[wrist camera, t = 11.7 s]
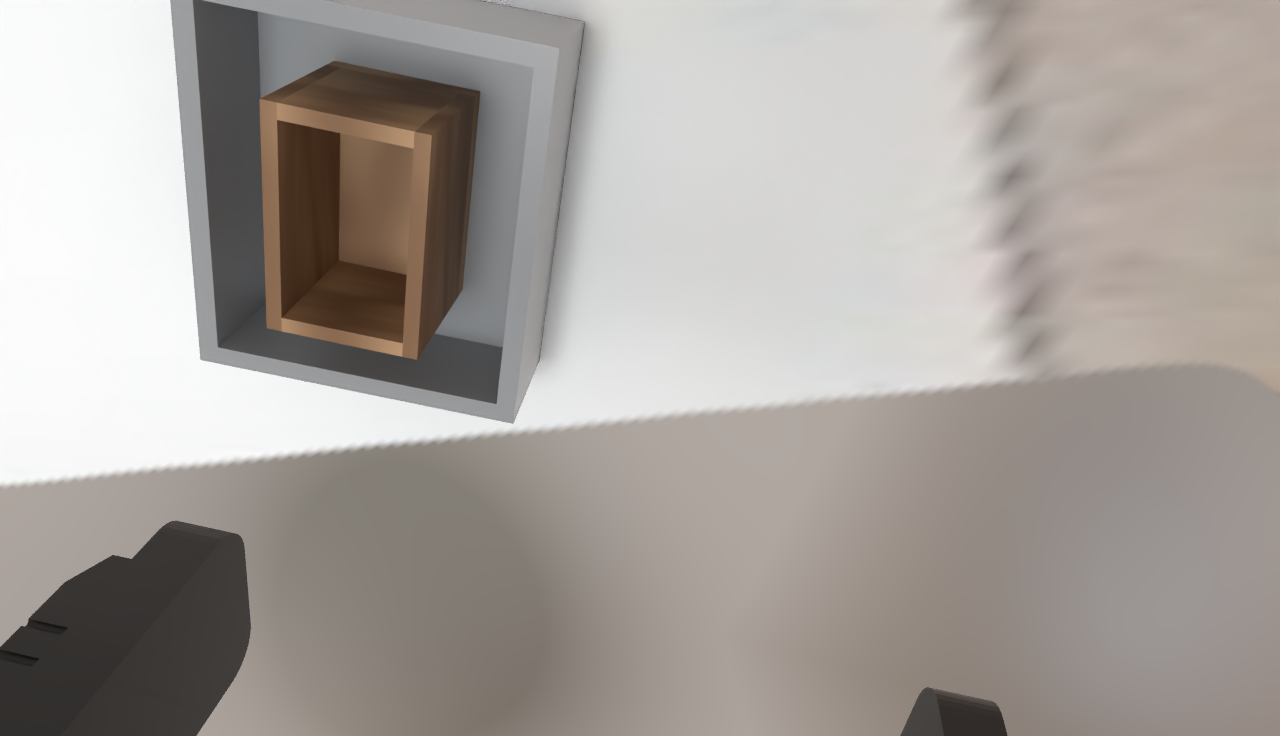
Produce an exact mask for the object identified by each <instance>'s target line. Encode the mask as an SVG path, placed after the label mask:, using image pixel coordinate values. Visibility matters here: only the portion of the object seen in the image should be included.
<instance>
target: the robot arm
mask: <svg viewBox="0 0 1280 736" xmlns="http://www.w3.org/2000/svg"><path fill="white" fill-rule="evenodd" d="M247 586H248V585H247V574H246V561H245V549H244V543H243V540H242V538H241V537H240V536H239V535H238V534H235V533H230V532H225V531H221V530H216V529H212V528H207V527H202V526H198V525H193V524H189V523H184V522H179V521H172V522H169V523H167V524H166V525H164V526H163V527H162V528H161V529H160V530H159V531H158V532H157V533H156V534H155V535H154V536H153V537H152V538H151V539H150V540H149V541H148V542H147V543H146V544H145V546H144V547H143V548H142V549H141V550H140V551H139V552H138V553H137V554H136V555H135V556H134V557H133V558H132V559H129V558H124V557H119V556H114V555H112V556H110V557H109V558H107V559H105V560H103V561H102V562H100V563H98V564H96V565H95V566H93V567H91V568H89V569H88V570H86V571H84V572H82V573H80V574H79V575H77V576H75V577H73V578H72V579H70V580H68V581H66V582H65V583H64V584H63V585H62V586H61V587H60V588H59V589H58V590H57V591H56V592H55V593H54V594H53V595H52V596H51V597H50V598H49V599H48V600H47V601H46V602H45V603H44V604H43V605H42V606H41V607H40V608H39V609H38V610H37V611H36V612H35V613H34V614H33V615H32V616H31V617H30V618H29V621H28V624H27V625H26V626H25V627H23V626H21V627H20V628H19V629H18V630H17V631H16V632H15V633H14V634H13V635H12V636H11V637H10V638H9V639H8V640H7V641H6V642H5V643H4V644H3V645H2V646H1V647H0V736H196V735H197V734H198V732H199V731H200V729H201V728H202V726H203V725H204V723H205V722H206V720H207V719H208V718H209V716H210V714H211V713H212V711H213V710H214V709H215V707H216V706H217V704H218V703H219V701H220V700H221V698H222V696H223V695H224V694H225V692H226V691H227V689H228V688H229V686H230V685H231V683H232V682H233V680H234V678H235V677H236V675H237V673H238V671H239V669H240V667H241V664H242V662H243V659H244V657H245V654H246V651H247V647H248V643H249V638H250V630H251V623H250V610H249V600H248V599H249V598H248V587H247ZM901 736H1007V732H1006V729H1005V724H1004V720H1003V717H1002V714H1001V711H1000V709H999V707H998V706H997V705H996V703H994V702H992V701H988V700H984V699H979V698H974V697H970V696H965V695H961V694H956V693H951V692H947V691H942V690H938V689H933V688H928V687H927V688H925V689H924V690H922V692H921V693H920V695H919V697H918V698H917V701H916V703H915V705H914V707H913V709H912V712H911V714H910V716H909V718H908V720H907V723H906V725H905V727H904V729H903V731H902V734H901Z"/></svg>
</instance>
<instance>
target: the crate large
mask: <svg viewBox="0 0 1280 736" xmlns="http://www.w3.org/2000/svg"><path fill="white" fill-rule="evenodd" d="M170 1H171V13H172V25H173V37H174V49H175V61H176V73H177V85H178V97H179V108H180V120H181V132H182V144H183V156H184V168H185V180H186V192H187V204H188V216H189V228H190V240H191V251H192V263H193V275H194V287H195V299H196V311H197V323H198V335H199V347H200V359H201V360H204V361H209V362H214V363H219V364H224V365H229V366H233V367H238V368H243V369H248V370H253V371H258V372H263V373H268V374H273V375H278V376H282V377H287V378H292V379H297V380H302V381H307V382H312V383H317V384H322V385H327V386H331V387H336V388H341V389H346V390H351V391H356V392H361V393H366V394H371V395H376V396H380V397H385V398H390V399H395V400H400V401H405V402H410V403H415V404H420V405H424V406H429V407H434V408H439V409H444V410H449V411H454V412H459V413H464V414H469V415H473V416H478V417H483V418H488V419H493V420H498V421H503V422H508V423H514V421H515V418H516V416H517V413H518V411H519V408H520V406H521V404H522V401H523V399H524V396H525V394H526V391H527V389H528V387H529V384H530V382H531V379H532V377H533V374H534V372H535V370H536V367H537V365H538V362H539V358H540V350H541V343H542V335H543V328H544V321H545V313H546V306H547V298H548V291H549V283H550V276H551V269H552V261H553V254H554V246H555V239H556V232H557V224H558V217H559V209H560V202H561V195H562V187H563V180H564V172H565V165H566V158H567V150H568V143H569V135H570V128H571V120H572V113H573V106H574V98H575V91H576V83H577V76H578V69H579V61H580V54H581V46H582V39H583V32H584V24H585V22H584V21H579V20H574V19H569V18H564V17H559V16H555V15H550V14H545V13H540V12H535V11H530V10H525V9H520V8H515V7H510V6H505V5H500V4H495V3H490V2H485V1H480V0H170ZM333 61H339V62H344V63H348V64H353V65H358V66H363V67H367V68H372V69H377V70H382V71H386V72H391V73H396V74H401V75H405V76H410V77H415V78H420V79H424V80H429V81H434V82H439V83H443V84H448V85H453V86H458V87H462V88H467V89H472V90H477V91H480V102H479V113H478V124H477V135H476V146H475V157H474V168H473V179H472V190H471V201H470V212H469V223H468V235H467V246H466V257H465V268H464V279H463V290H462V292H461V293H460V295H459V296H458V298H457V299H456V301H455V302H454V304H453V306H452V307H451V309H450V310H449V312H448V313H447V315H446V316H445V318H444V319H443V321H442V322H441V324H440V326H439V327H438V329H437V330H436V332H435V333H434V335H433V336H432V338H431V339H430V341H429V342H428V344H427V346H426V347H425V349H424V350H423V352H422V353H421V355H420V356H419V358H418V359H417V360H415V359H410V358H406V357H401V356H396V355H391V354H387V353H382V352H377V351H373V350H368V349H363V348H358V347H354V346H349V345H344V344H339V343H335V342H330V341H325V340H320V339H316V338H311V337H306V336H301V335H297V334H292V333H287V332H282V331H278V330H273V329H268V328H267V322H266V291H265V259H264V227H263V196H262V164H261V133H260V101H259V99H260V98H262V97H264V96H266V95H268V94H270V93H272V92H274V91H276V90H278V89H280V88H282V87H284V86H286V85H288V84H290V83H292V82H294V81H295V80H297V79H299V78H301V77H303V76H305V75H307V74H309V73H311V72H313V71H315V70H317V69H319V68H321V67H323V66H325V65H327V64H329V63H331V62H333Z"/></svg>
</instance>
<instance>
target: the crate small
mask: <svg viewBox="0 0 1280 736" xmlns="http://www.w3.org/2000/svg"><path fill="white" fill-rule="evenodd" d="M259 101H260V133H261V164H262V196H263V227H264V259H265V291H266V322H267V328H268V329H273V330H278V331H282V332H287V333H292V334H297V335H301V336H306V337H311V338H316V339H320V340H325V341H330V342H335V343H339V344H344V345H349V346H354V347H358V348H363V349H368V350H373V351H377V352H382V353H387V354H391V355H396V356H401V357H406V358H410V359H415V360H417V359H418V358H419V356H420V355H421V353H422V352H423V350H424V349H425V347H426V346H427V344H428V342H429V341H430V339H431V338H432V336H433V335H434V333H435V332H436V330H437V329H438V327H439V326H440V324H441V322H442V321H443V319H444V318H445V316H446V315H447V313H448V312H449V310H450V309H451V307H452V306H453V304H454V302H455V301H456V299H457V298H458V296H459V295H460V293H461V292H462V290H463V279H464V268H465V257H466V246H467V235H468V223H469V212H470V201H471V190H472V179H473V168H474V157H475V146H476V135H477V124H478V113H479V102H480V91H477V90H472V89H467V88H462V87H458V86H453V85H448V84H443V83H439V82H434V81H429V80H424V79H420V78H415V77H410V76H405V75H401V74H396V73H391V72H386V71H382V70H377V69H372V68H367V67H363V66H358V65H353V64H348V63H344V62H339V61H333V62H331V63H329V64H327V65H325V66H323V67H321V68H319V69H317V70H315V71H313V72H311V73H309V74H307V75H305V76H303V77H301V78H299V79H297V80H295V81H294V82H292V83H290V84H288V85H286V86H284V87H282V88H280V89H278V90H276V91H274V92H272V93H270V94H268V95H266V96H264V97H262V98H260V99H259Z"/></svg>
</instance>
